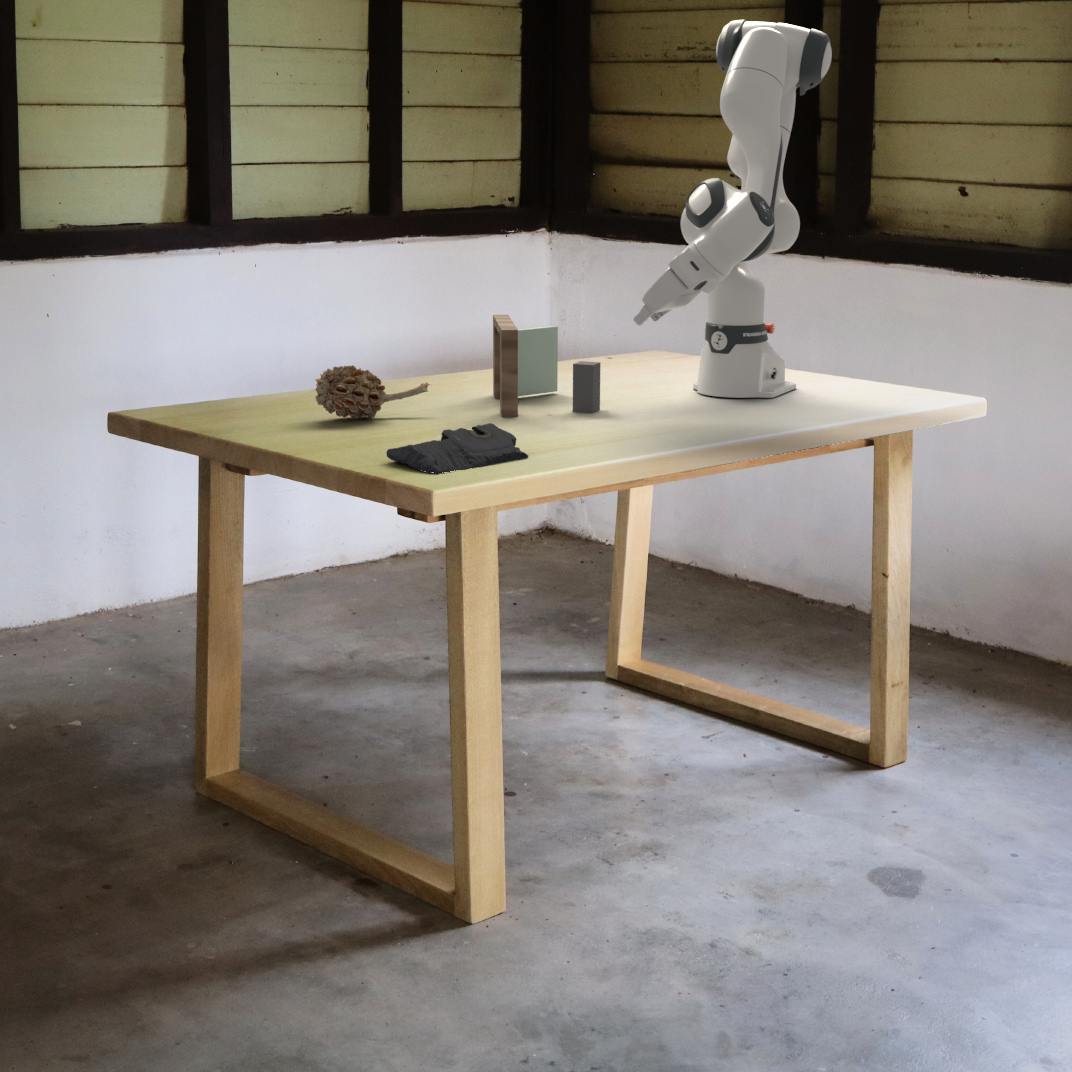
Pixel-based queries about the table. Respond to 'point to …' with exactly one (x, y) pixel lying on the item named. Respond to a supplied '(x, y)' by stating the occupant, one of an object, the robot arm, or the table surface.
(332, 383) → the dried seed pod
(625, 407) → the table surface
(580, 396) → the gray rectangular block
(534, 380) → the door
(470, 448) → the dark slate chunk
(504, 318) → the door frame
